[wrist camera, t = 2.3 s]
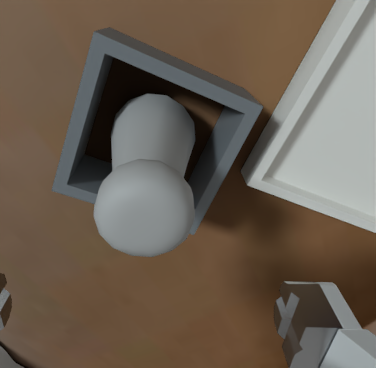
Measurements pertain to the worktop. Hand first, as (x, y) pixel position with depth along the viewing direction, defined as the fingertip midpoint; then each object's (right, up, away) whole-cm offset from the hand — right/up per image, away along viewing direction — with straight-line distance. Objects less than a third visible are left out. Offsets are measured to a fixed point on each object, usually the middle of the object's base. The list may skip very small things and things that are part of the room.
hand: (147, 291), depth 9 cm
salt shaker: (-1, +8, +15) cm, 17 cm away
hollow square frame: (-1, +8, +15) cm, 17 cm away
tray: (+16, +8, +15) cm, 24 cm away
